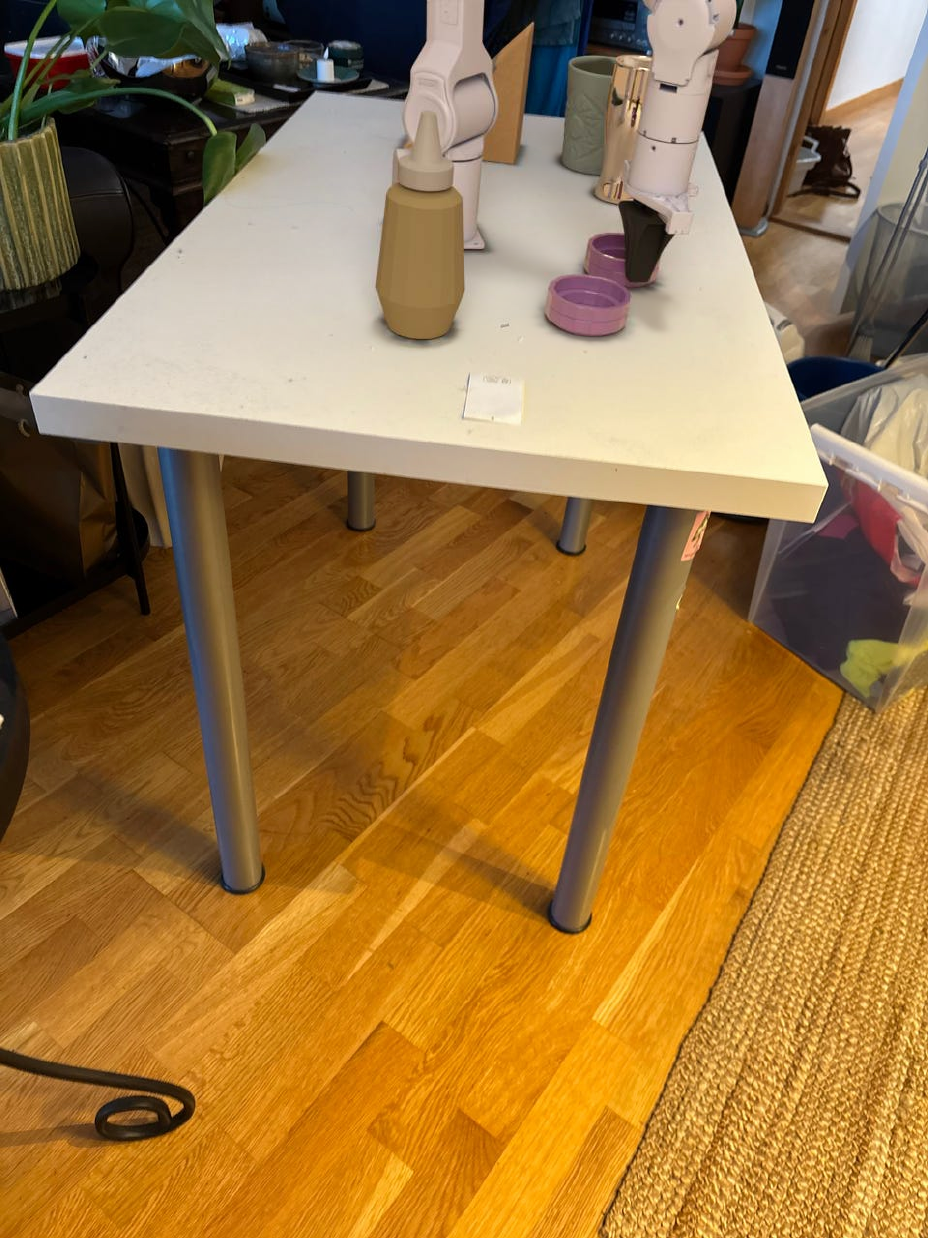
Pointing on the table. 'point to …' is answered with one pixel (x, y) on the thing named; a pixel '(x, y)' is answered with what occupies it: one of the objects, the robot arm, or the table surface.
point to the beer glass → (621, 123)
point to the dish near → (587, 304)
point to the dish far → (610, 259)
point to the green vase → (586, 113)
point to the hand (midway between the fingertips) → (636, 279)
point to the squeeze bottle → (422, 241)
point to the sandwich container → (508, 99)
